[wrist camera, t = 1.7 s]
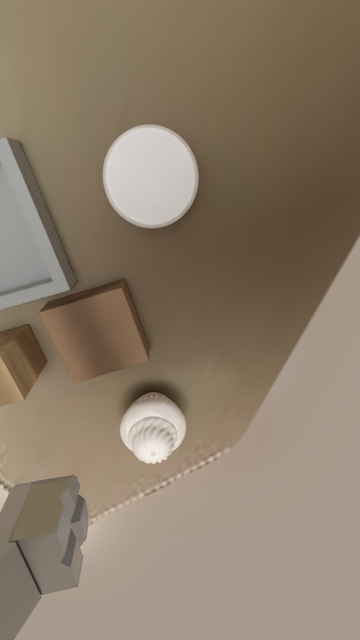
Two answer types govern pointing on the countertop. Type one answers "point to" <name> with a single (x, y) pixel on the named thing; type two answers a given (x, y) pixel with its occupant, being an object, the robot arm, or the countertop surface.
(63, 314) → the brown flat block
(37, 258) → the tray
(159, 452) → the white lidded jar
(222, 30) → the countertop surface
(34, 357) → the block
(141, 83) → the countertop surface
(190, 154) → the pill bottle
